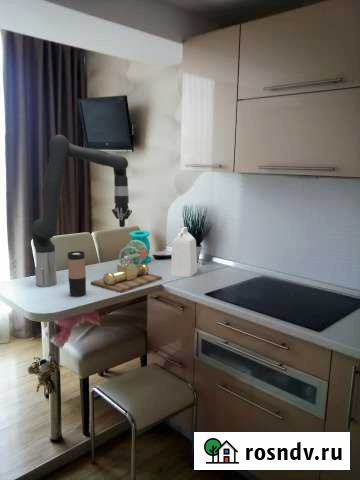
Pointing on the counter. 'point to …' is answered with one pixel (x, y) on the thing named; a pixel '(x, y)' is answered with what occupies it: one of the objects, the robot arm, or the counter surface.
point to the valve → (137, 247)
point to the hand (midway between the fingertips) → (122, 226)
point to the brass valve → (125, 273)
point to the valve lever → (137, 254)
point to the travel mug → (77, 273)
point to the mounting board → (128, 283)
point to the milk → (184, 254)
